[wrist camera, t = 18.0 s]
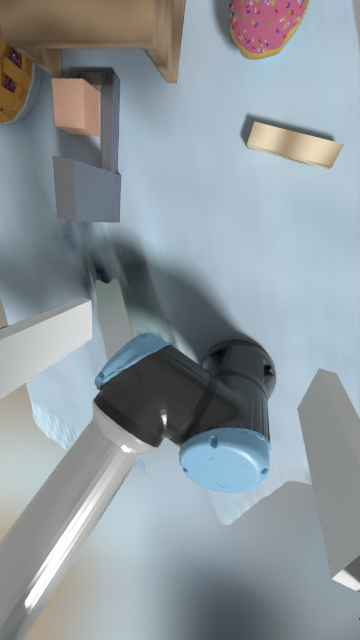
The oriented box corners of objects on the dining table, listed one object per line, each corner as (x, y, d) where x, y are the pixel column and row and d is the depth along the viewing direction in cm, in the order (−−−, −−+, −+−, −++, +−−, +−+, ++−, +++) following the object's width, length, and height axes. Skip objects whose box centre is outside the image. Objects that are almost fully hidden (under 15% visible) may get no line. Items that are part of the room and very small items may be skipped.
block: (100, 137, 40) (84, 128, 36) (72, 134, 41) (55, 126, 38) (99, 92, 37) (83, 78, 34) (70, 91, 39) (51, 78, 35)
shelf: (176, 83, 33) (150, 39, 26) (55, 78, 38) (2, 40, 31) (189, -33, 29) (162, -130, 21) (49, -21, 34) (-16, -95, 26)
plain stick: (337, 149, 31) (343, 144, 29) (327, 170, 32) (332, 166, 30) (254, 128, 33) (254, 121, 31) (247, 148, 34) (246, 143, 32)
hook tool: (119, 222, 45) (76, 221, 34) (82, 215, 46) (31, 212, 36) (124, 80, 35) (66, 19, 25) (78, 78, 37) (7, 21, 27)
